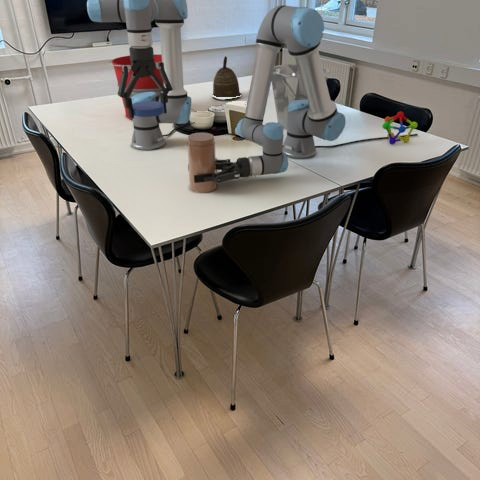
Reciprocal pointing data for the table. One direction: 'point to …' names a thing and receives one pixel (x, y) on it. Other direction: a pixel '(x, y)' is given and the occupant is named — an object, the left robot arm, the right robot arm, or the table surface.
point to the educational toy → (398, 128)
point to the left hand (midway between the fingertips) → (148, 114)
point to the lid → (148, 108)
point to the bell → (225, 82)
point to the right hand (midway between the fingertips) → (191, 173)
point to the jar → (201, 160)
